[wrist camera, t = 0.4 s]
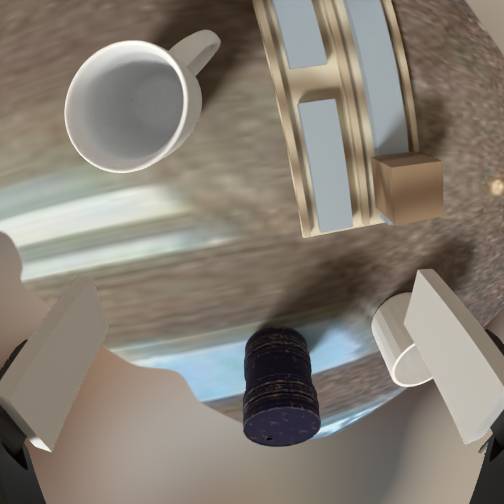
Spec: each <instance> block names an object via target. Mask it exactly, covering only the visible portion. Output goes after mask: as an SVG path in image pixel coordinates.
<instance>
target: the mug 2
mask: <svg viewBox="0 0 504 504" xmlns="http://www.w3.org/2000/svg"><path fill="white" fill-rule="evenodd" d="M411 295H412V293H411V292H406V293H401V294H398V295H395V296H393V297H391V298H390V299H388V300H387V301H385V302H384V303H383V304H382V305H381V306H380V307H379V308H378V310H377V312H376V313H375V315H374V317H373V320H372V327H371V329H372V332H373V335H374V338H375V340H376V342H377V344H378V347H379V349H380V351H381V353H382V356H383V358H384V360H385V363H386V365H387V368H388V370H389V372H390V375H391V377H392V379H393V381H394V382H395V383H396V384H398V385H400V386H405V387H409V386H416V385H419V384H422V383H425V382H426V381H429V380H431V379H432V378H433V377H432V375H431V373H430V371H429V369H428V367H427V365H426V363H425V361H424V360H423V358H422V356H421V354H420V352H419V350H418V348H417V347H416V345H415V343H414V341H413V339H412V338H411V336H410V334H409V332H408V331H407V329H406V327H405V325H404V320H405V317H406V313H407V310H408V306H409V303H410V299H411Z"/></svg>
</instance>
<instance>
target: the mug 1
mask: <svg viewBox="0 0 504 504" xmlns="http://www.w3.org/2000/svg"><path fill="white" fill-rule="evenodd" d="M220 43H221V41H220V39H219V37H218V36H217V35H216V34H215V33H214V32H212V31H210V30H201V31H198V32H196V33H193V34H192V35H190V36H188V37H186V38H184V39H183V40H181V41H180V42H178V43H177V44H176V45H174V46H173V47H172V48H171V49H170V50H169V51H168V50H165V49H164V48H162V47H160V46H157V45H155V44H153V43H150V42H146V41H141V40H127V41H120V42H116V43H113V44H111V45H108V46H106V47H104V48H102V49H101V50H99V51H97V52H96V53H94V54H93V55H92V56H91V57H90V58H89V59H88V60H87V61H86V62H85V63H84V64H83V65H82V66H81V67H80V69H79V70H78V72H77V73H76V75H75V76H74V78H73V80H72V82H71V85H70V87H69V90H68V93H67V97H66V102H65V124H66V128H67V132H68V135H69V137H70V140H71V142H72V144H73V145H74V147H75V148H76V150H77V151H78V152H79V154H80V155H81V156H82V157H83V158H84V159H86V160H87V161H88V162H89V163H91V164H92V165H94V166H96V167H98V168H100V169H103V170H106V171H110V172H116V173H127V172H133V171H138V170H141V169H144V168H146V167H148V166H150V165H152V164H154V163H156V162H158V161H159V160H160V159H162V158H165V157H166V156H168V155H169V154H171V153H172V152H173V151H175V150H176V149H177V148H178V147H179V146H181V144H183V143H184V142H185V141H186V139H187V138H188V137H189V136H190V135H191V133H192V132H193V130H194V129H195V127H196V125H197V123H198V120H199V117H200V114H201V109H202V97H201V95H202V93H201V89H200V85H199V83H198V80H197V79H196V77H195V76H196V75H197V74H198V73H199V72H200V71H201V70H202V69H203V68H204V66H205V65H206V64H207V63H208V61H209V60H210V59H211V58H212V57H213V55H214V54H215V53H216V51H217V50H218V48H219V47H220Z"/></svg>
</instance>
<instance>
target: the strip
mask: <svg viewBox="0 0 504 504" xmlns="http://www.w3.org/2000/svg"><path fill="white" fill-rule="evenodd" d="M343 3H344V7H345V10H346V14H347V17H348V21H349V25H350V28H351V32H352V36H353V40H354V44H355V49H356V53H357V57H358V62H359V66H360V71H361V76H362V81H363V86H364V92H365V97H366V103H367V108H368V115H369V121H370V127H371V134H372V142H373V149H374V156H382V155H389V154H397V153H405V152H409V150H408V140H407V131H406V123H405V115H404V108H403V102H402V95H401V89H400V84H399V78H398V73H397V68H396V63H395V58H394V54H393V49H392V45H391V41H390V36H389V32H388V28H387V25H386V21H385V17H384V14H383V10H382V7H381V3H380V0H343ZM380 218H381V219H382V220H383V221H385V222H386V223H387V224H388V225H392V224H393V223H392V222H391V221H390V220H389V219H388V218H387V217H386V216H385V215H384V214H382V213H381V212H380Z"/></svg>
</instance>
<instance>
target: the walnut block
mask: <svg viewBox="0 0 504 504" xmlns="http://www.w3.org/2000/svg"><path fill="white" fill-rule="evenodd" d="M370 158H371V166H372V176H373V185H374V196H375V207H376V208H377V209H378V210H379V211H380V212H381V213H382V214H384V215H385V216H386V217H387V218H388V219H389V220H390V221H391V222H392V223H393V224H394V225H400V224H406V223H411V222H416V221H421V220H426V219H431V218H436V217H441V216H443V169H442V161H441V160H438V159H435V158H433V157H430V156H428V155H425V154H422V153H419V152H417V151H413V152H405V153H397V154H389V155H382V156H374V157H370Z"/></svg>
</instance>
